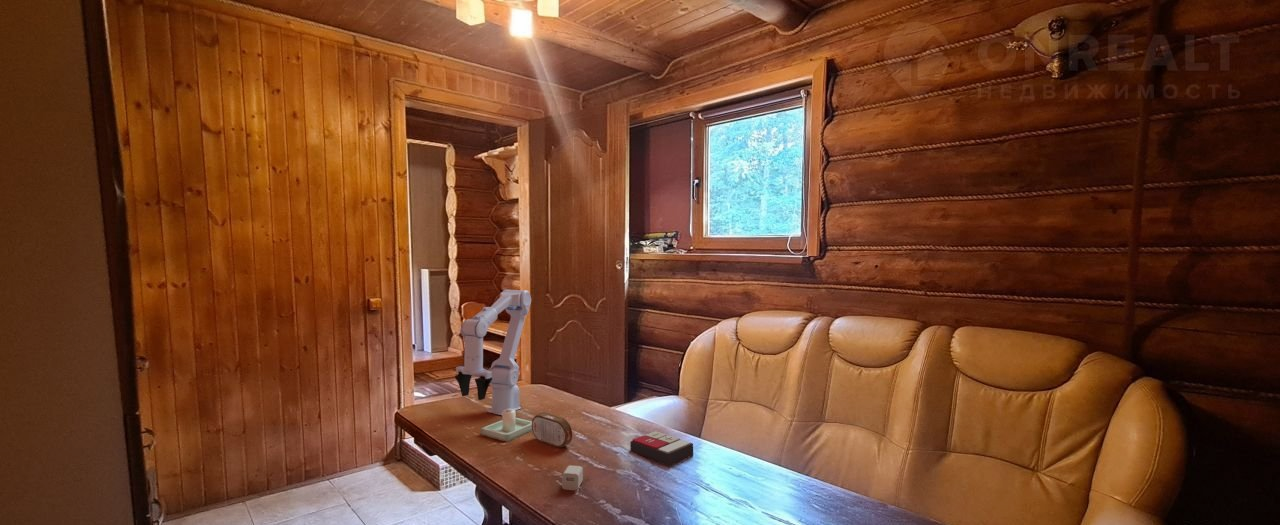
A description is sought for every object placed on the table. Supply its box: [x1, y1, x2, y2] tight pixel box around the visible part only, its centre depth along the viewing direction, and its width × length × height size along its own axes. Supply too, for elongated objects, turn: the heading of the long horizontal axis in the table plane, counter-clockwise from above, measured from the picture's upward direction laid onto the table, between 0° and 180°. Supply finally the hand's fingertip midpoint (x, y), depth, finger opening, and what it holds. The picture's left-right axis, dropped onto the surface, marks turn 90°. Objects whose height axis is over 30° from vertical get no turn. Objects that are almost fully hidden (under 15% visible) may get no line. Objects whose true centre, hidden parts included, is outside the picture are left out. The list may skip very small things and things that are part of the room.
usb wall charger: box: [561, 465, 584, 491], centre depth 120 cm, size 4×7×4 cm, turn 172°
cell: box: [501, 408, 517, 432], centre depth 154 cm, size 4×4×6 cm
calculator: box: [629, 430, 694, 467], centre depth 139 cm, size 11×4×15 cm
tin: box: [531, 411, 573, 449], centre depth 145 cm, size 15×3×8 cm, turn 55°
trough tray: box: [480, 417, 533, 443], centre depth 154 cm, size 13×11×2 cm
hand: (473, 397), depth 158 cm, fingers open, 7 cm apart
